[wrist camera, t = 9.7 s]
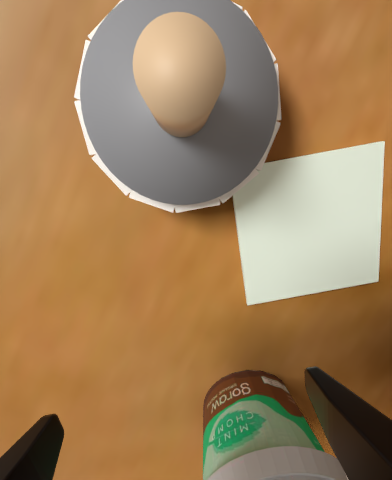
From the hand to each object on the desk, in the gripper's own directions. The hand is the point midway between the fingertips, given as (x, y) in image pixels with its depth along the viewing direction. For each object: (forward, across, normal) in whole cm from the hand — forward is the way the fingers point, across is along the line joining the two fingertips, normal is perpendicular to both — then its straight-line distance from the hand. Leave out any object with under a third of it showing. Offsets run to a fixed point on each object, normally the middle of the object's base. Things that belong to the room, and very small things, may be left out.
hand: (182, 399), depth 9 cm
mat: (+13, -11, -1) cm, 17 cm away
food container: (+13, -2, +15) cm, 20 cm away
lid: (+10, -2, -11) cm, 15 cm away
